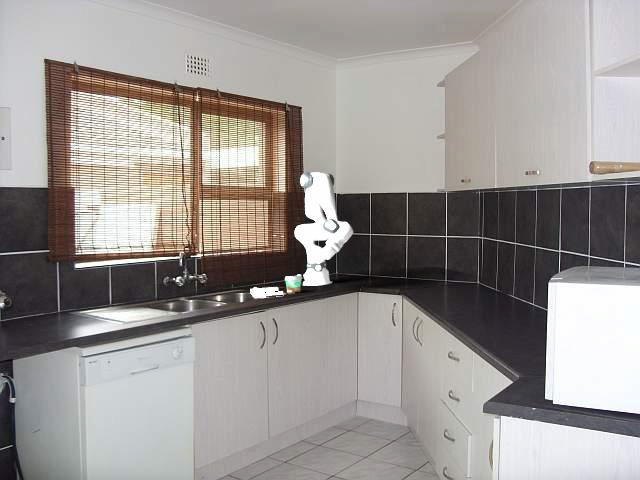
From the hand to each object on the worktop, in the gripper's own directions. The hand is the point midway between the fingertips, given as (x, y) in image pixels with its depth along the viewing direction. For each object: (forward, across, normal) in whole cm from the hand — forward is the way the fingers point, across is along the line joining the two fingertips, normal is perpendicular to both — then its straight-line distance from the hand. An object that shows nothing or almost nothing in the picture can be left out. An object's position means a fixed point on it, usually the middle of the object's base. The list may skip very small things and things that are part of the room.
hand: (317, 263), depth 380 cm
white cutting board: (+33, -1, -10) cm, 35 cm away
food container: (+21, -1, +2) cm, 21 cm away
